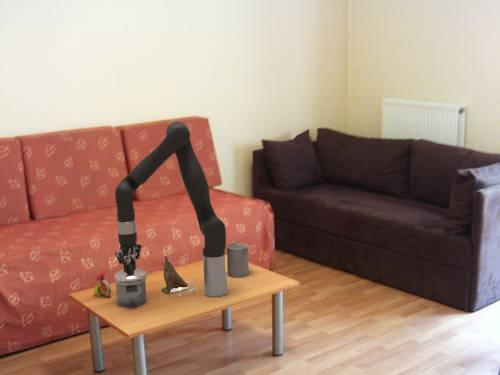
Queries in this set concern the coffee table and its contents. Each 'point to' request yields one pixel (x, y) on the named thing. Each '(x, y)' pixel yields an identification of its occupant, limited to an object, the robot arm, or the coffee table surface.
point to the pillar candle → (237, 260)
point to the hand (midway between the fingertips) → (130, 271)
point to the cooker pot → (131, 293)
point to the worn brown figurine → (171, 278)
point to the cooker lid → (130, 274)
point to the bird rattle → (102, 286)
